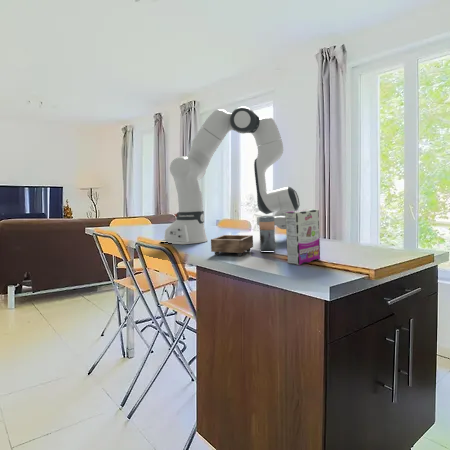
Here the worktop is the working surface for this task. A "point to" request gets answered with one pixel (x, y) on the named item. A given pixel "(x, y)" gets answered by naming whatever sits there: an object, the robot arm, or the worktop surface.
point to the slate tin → (267, 233)
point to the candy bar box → (302, 236)
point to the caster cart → (232, 244)
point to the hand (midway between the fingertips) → (276, 222)
